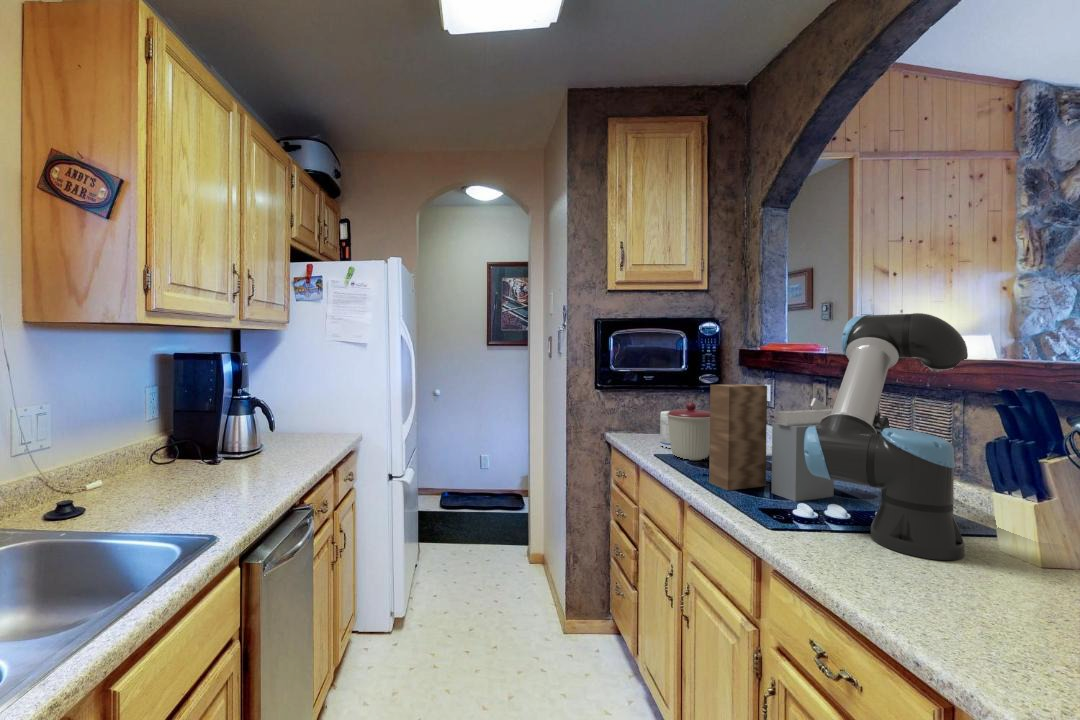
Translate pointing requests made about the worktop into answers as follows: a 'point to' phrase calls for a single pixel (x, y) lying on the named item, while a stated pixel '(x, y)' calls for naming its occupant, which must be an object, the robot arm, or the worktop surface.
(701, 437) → the canister
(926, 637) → the worktop surface
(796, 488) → the gray rectangular block
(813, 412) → the steel lever bar
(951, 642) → the worktop surface
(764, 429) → the walnut column
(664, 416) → the supplement tub
